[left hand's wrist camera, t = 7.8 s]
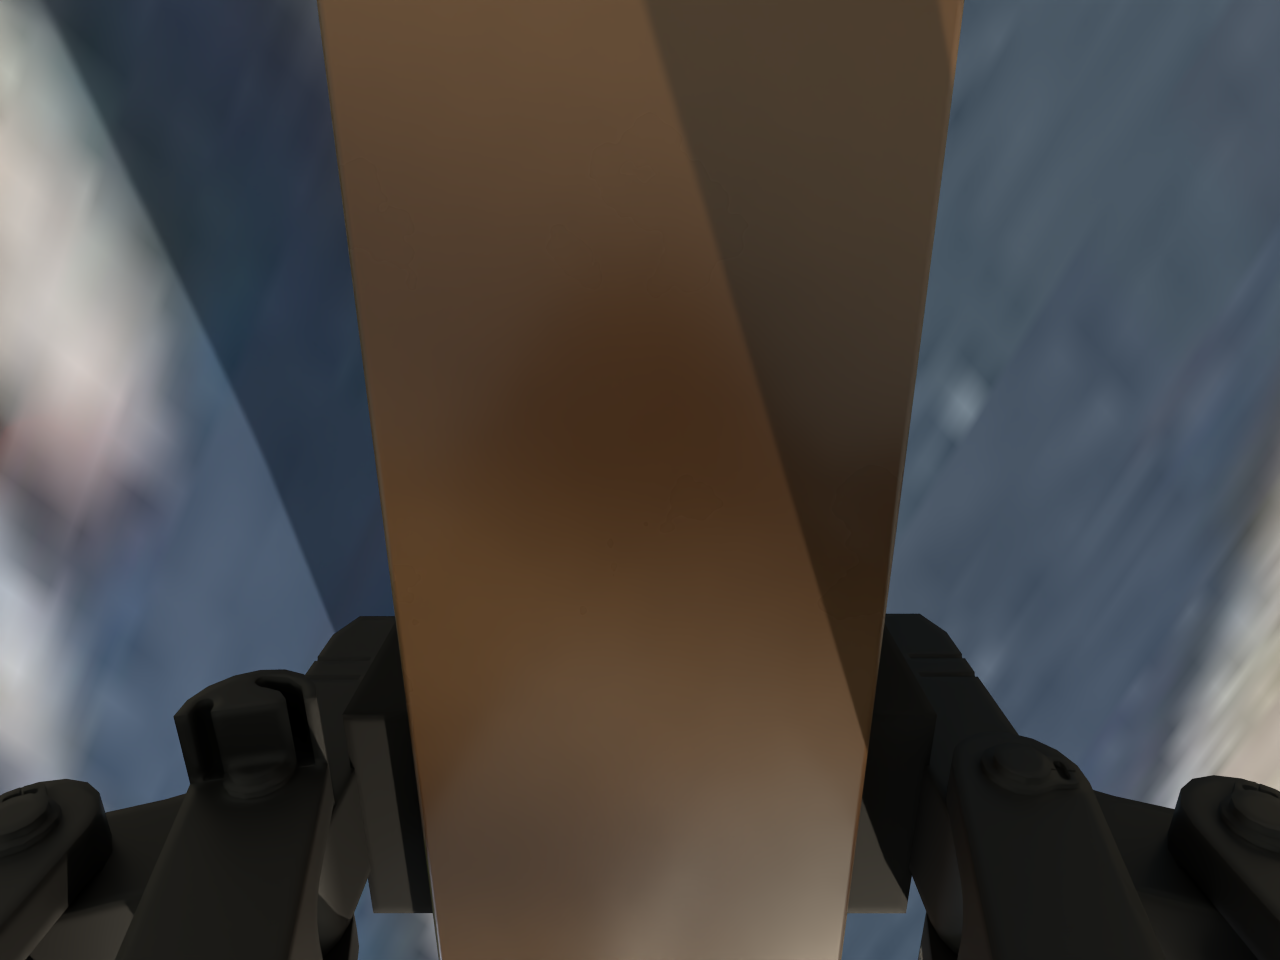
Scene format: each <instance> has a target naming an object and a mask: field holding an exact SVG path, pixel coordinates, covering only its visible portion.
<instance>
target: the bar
mask: <svg viewBox="0 0 1280 960" xmlns="http://www.w3.org/2000/svg"><path fill="white" fill-rule="evenodd" d="M317 7H318V14H319V22H320V30H321V38H322V46H323V54H324V62H325V69H326V77H327V85H328V93H329V101H330V109H331V117H332V124H333V132H334V140H335V148H336V156H337V164H338V172H339V179H340V187H341V195H342V203H343V211H344V219H345V227H346V234H347V242H348V250H349V258H350V266H351V274H352V282H353V289H354V297H355V305H356V313H357V321H358V329H359V337H360V344H361V352H362V360H363V368H364V376H365V384H366V392H367V399H368V407H369V415H370V423H371V431H372V439H373V447H374V454H375V462H376V470H377V478H378V486H379V494H380V502H381V509H382V517H383V525H384V533H385V541H386V549H387V557H388V564H389V572H390V580H391V588H392V596H393V604H394V612H395V619H396V627H397V635H398V643H399V651H400V659H401V667H402V674H403V682H404V690H405V698H406V706H407V714H408V722H409V729H410V737H411V745H412V753H413V761H414V769H415V777H416V784H417V792H418V800H419V808H420V816H421V824H422V832H423V839H424V847H425V855H426V863H427V871H428V879H429V887H430V894H431V902H432V910H433V918H434V926H435V934H436V942H437V949H438V957H439V960H841V957H842V950H843V942H844V934H845V926H846V918H847V911H848V903H849V895H850V887H851V879H852V872H853V864H854V856H855V848H856V841H857V833H858V825H859V817H860V809H861V802H862V794H863V786H864V778H865V770H866V763H867V755H868V747H869V739H870V731H871V724H872V716H873V708H874V700H875V693H876V685H877V677H878V669H879V661H880V654H881V646H882V638H883V630H884V622H885V615H886V607H887V599H888V591H889V583H890V576H891V568H892V560H893V552H894V545H895V537H896V529H897V521H898V513H899V506H900V498H901V490H902V482H903V474H904V467H905V459H906V451H907V443H908V435H909V428H910V420H911V412H912V404H913V397H914V389H915V381H916V373H917V365H918V358H919V350H920V342H921V334H922V326H923V319H924V311H925V303H926V295H927V288H928V280H929V272H930V264H931V256H932V249H933V241H934V233H935V225H936V217H937V210H938V202H939V194H940V186H941V178H942V171H943V163H944V155H945V147H946V140H947V132H948V124H949V116H950V108H951V101H952V93H953V85H954V77H955V69H956V62H957V54H958V46H959V38H960V30H961V23H962V15H963V7H964V0H317Z"/></svg>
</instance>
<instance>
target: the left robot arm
mask: <svg viewBox="0 0 1280 960" xmlns="http://www.w3.org/2000/svg"><path fill="white" fill-rule="evenodd" d="M174 720H175V724H176V728H177V732H178V736H179V740H180V744H181V748H182V753H183V757H184V761H185V765H186V769H187V773H188V777H189V781H190V786H189V788H188V791H187V793H186V794H183V795H179V796H176V797H172V798H169V799H165V800H161V801H156V802H152V803H147V804H143V805H138V806H134V807H129V808H125V809H120V810H115V811H111V812H106V813H105V810H104V807H103V803H102V800H101V797H100V793H99V792H98V791H97V790H96V789H95V788H93V787H92V786H91V785H90V784H89V783H88V782H82V781H76V780H70V779H61V780H53V781H45V782H38V783H34V784H31V785H27V786H24V787H22V788H17V789H14V790H12V791H9V792H6V793H4V794H2V795H0V960H358V951H359V943H358V935H357V928H356V922H355V916H354V911H355V909H356V906H357V904H358V901H359V899H360V896H361V894H362V891H363V889H364V886H365V884H366V881H367V879H368V881H369V888H370V894H371V900H372V907H373V913H433V910H432V902H431V894H430V887H429V879H428V871H427V863H426V855H425V847H424V839H423V832H422V824H421V816H420V808H419V800H418V792H417V784H416V777H415V769H414V761H413V753H412V745H411V737H410V729H409V722H408V714H407V706H406V698H405V690H404V682H403V674H402V667H401V659H400V651H399V643H398V635H397V627H396V619H395V616H360V617H358V618H357V619H355V620H354V621H352V622H351V623H350V624H348V625H347V626H345V627H344V628H342V629H341V630H339V631H338V632H337V633H335V634H334V635H333V636H332V637H331V638H330V640H329V641H328V643H327V644H326V646H325V647H324V649H323V650H322V651H321V653H320V654H319V656H318V661H314V663H313V664H312V666H311V667H310V669H309V670H308V672H307V673H306V674H305V675H304V674H300V673H297V672H293V671H289V670H258V671H254V672H249V673H245V674H240V675H235V676H232V677H230V678H227V679H225V680H223V681H220V682H218V683H215V684H213V685H210V686H208V687H207V688H205V689H204V690H202V691H201V692H199V693H198V694H196V695H194V696H193V697H191V698H190V699H188V700H187V701H186V702H185V703H184V705H183V706H182V707H181V708H180V709H179V711H178V712H177V713H176V714H175V715H174ZM911 877H913V879H914V882H915V884H916V887H917V889H918V892H919V894H920V897H921V899H922V902H923V904H924V907H925V909H926V916H925V922H924V928H923V934H922V940H921V946H920V951H919V957H918V960H1280V792H1279V791H1278V790H1276V789H1273V788H1271V787H1268V786H1265V785H1262V784H1257V783H1256V782H1252V781H1248V780H1244V779H1241V778H1232V777H1224V776H1215V775H1212V776H1207V777H1201V778H1195V779H1192V780H1191V781H1190V782H1188V783H1187V784H1186V785H1185V786H1184V787H1183V788H1182V789H1181V791H1180V794H1179V797H1178V801H1177V804H1176V807H1175V809H1171V808H1166V807H1162V806H1157V805H1153V804H1148V803H1143V802H1139V801H1134V800H1130V799H1125V798H1121V797H1116V796H1112V795H1109V794H1105V793H1102V792H1098V791H1095V790H1093V789H1092V787H1091V785H1090V783H1089V781H1088V780H1087V778H1086V777H1085V776H1084V774H1083V773H1082V771H1081V770H1080V769H1079V767H1078V766H1077V765H1076V764H1074V763H1073V762H1072V761H1071V760H1069V759H1068V758H1067V757H1065V756H1064V755H1063V754H1061V753H1060V752H1059V751H1057V750H1056V749H1053V748H1051V747H1049V746H1047V745H1045V744H1043V743H1041V742H1038V741H1036V740H1034V739H1031V738H1027V737H1023V736H1019V735H1018V733H1017V732H1016V731H1015V729H1014V728H1013V726H1012V725H1011V723H1010V722H1009V721H1008V719H1007V718H1006V716H1005V715H1004V713H1003V712H1002V711H1001V709H1000V708H999V706H998V705H997V703H996V702H995V701H994V699H993V698H992V696H991V695H990V693H989V692H988V691H987V689H986V688H985V686H984V685H983V684H982V682H981V681H980V679H979V678H978V677H975V675H974V671H973V669H972V668H971V666H970V665H969V664H968V662H967V661H966V659H965V658H962V654H961V652H960V651H959V649H958V648H957V646H956V645H955V644H954V642H953V641H952V639H951V638H950V637H949V635H948V634H947V632H945V631H944V630H942V629H941V628H939V627H938V626H937V625H935V624H934V623H932V622H931V621H929V620H928V619H926V618H925V617H923V616H922V615H921V614H886V615H885V622H884V630H883V638H882V646H881V654H880V661H879V669H878V677H877V685H876V693H875V700H874V708H873V716H872V724H871V731H870V739H869V747H868V755H867V763H866V770H865V778H864V786H863V794H862V802H861V809H860V817H859V825H858V833H857V841H856V848H855V856H854V864H853V872H852V879H851V887H850V895H849V903H848V911H847V913H906V909H907V902H908V896H909V890H910V883H911Z"/></svg>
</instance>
